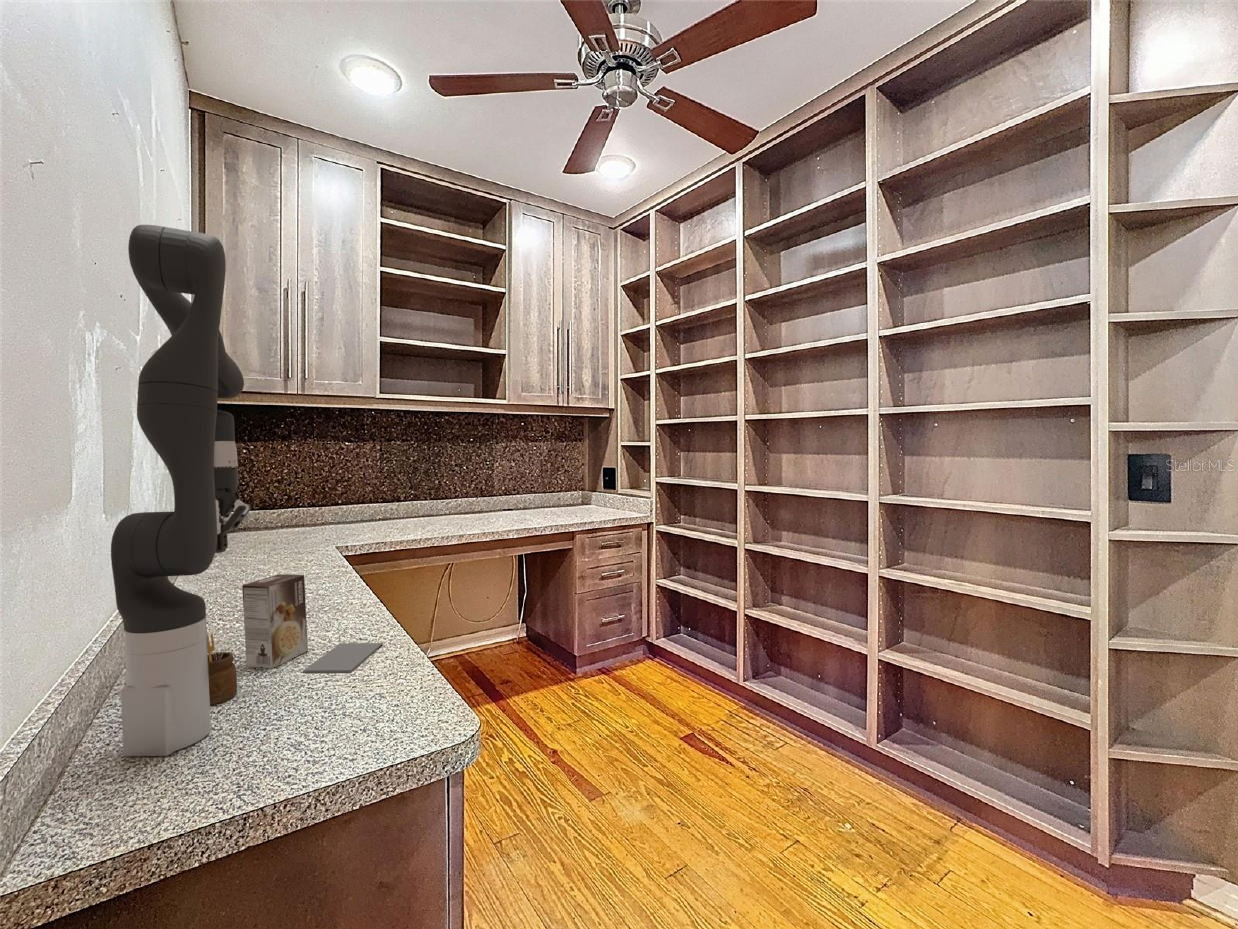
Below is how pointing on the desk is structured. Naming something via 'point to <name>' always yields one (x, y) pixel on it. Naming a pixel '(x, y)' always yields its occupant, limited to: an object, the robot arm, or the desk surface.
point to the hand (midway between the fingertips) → (218, 552)
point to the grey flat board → (343, 658)
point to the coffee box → (274, 620)
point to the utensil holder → (220, 673)
